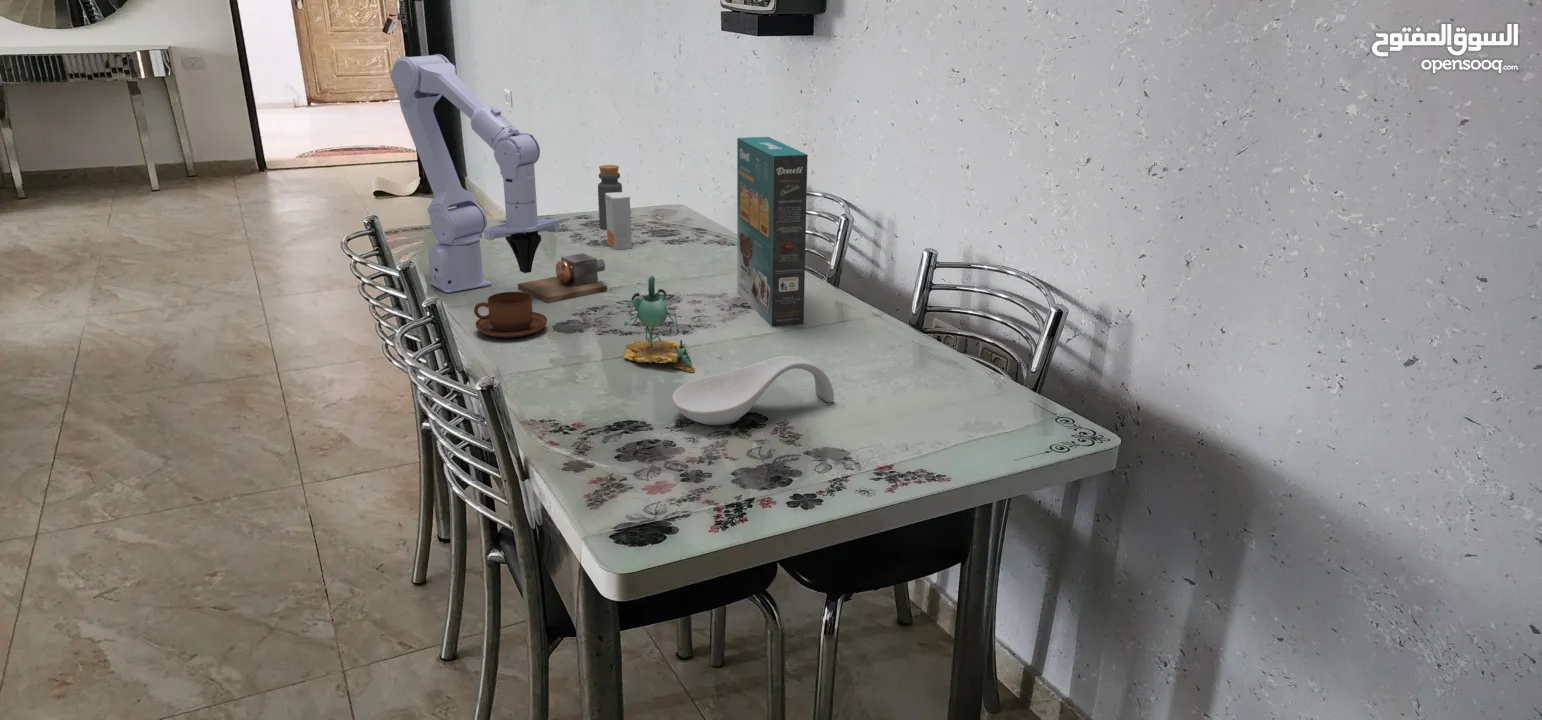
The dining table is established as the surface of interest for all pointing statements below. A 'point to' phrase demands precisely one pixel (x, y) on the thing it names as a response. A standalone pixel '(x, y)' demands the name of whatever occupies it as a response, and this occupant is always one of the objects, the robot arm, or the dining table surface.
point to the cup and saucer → (509, 316)
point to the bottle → (607, 189)
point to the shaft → (566, 273)
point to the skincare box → (618, 220)
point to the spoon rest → (740, 390)
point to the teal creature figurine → (652, 316)
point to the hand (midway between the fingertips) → (525, 271)
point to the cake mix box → (771, 229)
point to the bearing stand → (579, 285)
